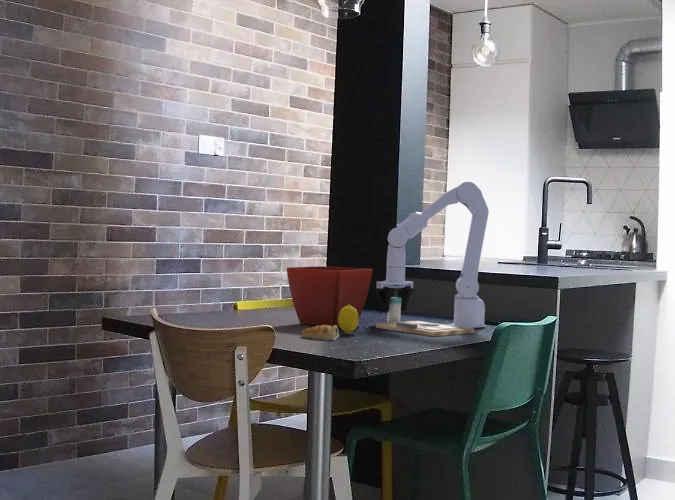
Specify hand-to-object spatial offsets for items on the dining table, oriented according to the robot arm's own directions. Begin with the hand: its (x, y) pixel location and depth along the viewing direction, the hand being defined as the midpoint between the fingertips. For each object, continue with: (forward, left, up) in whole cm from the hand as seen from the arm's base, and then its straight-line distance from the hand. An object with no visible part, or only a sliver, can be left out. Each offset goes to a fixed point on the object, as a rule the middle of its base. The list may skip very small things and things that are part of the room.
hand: (393, 311), depth 250 cm
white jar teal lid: (0, 0, -4) cm, 4 cm away
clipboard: (+4, +16, -4) cm, 17 cm away
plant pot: (+21, -7, -4) cm, 22 cm away
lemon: (+31, +12, -4) cm, 33 cm away
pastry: (+43, +16, -4) cm, 46 cm away
